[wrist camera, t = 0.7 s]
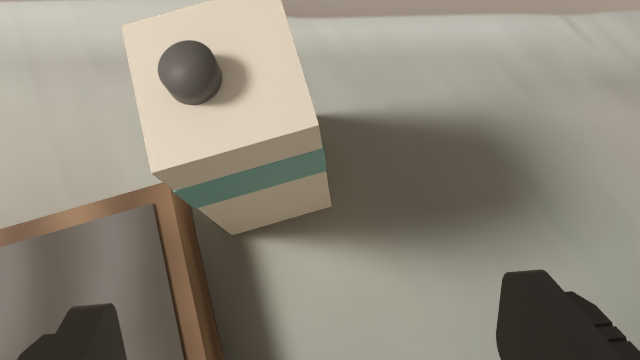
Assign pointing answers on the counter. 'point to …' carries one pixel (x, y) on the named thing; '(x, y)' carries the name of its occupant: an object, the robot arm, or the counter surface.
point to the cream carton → (228, 112)
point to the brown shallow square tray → (111, 275)
